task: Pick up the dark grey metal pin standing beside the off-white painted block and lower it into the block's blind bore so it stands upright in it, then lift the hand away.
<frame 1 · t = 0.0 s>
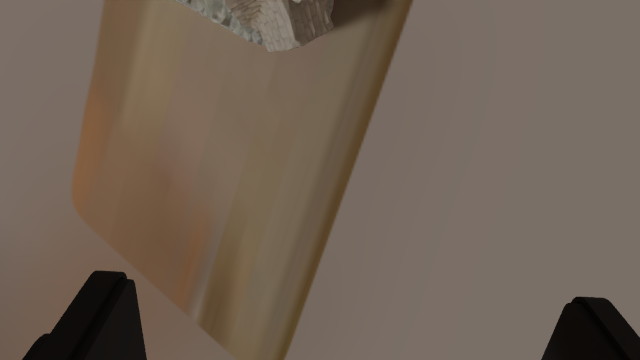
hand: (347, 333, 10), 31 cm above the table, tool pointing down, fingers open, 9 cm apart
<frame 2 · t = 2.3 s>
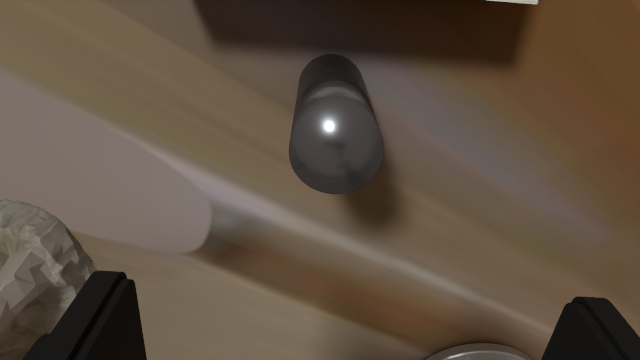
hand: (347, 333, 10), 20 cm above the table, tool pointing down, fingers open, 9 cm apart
metal pin: (331, 87, 28), on the table
grey rough lump: (17, 291, 36), on the table
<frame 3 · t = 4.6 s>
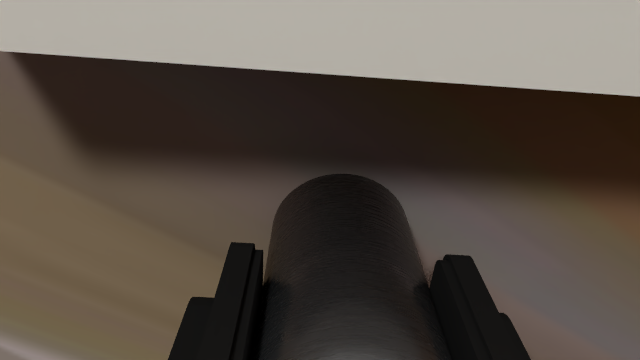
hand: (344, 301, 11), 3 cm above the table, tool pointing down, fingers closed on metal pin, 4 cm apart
metal pin: (339, 233, 13), on the table, touching gripper
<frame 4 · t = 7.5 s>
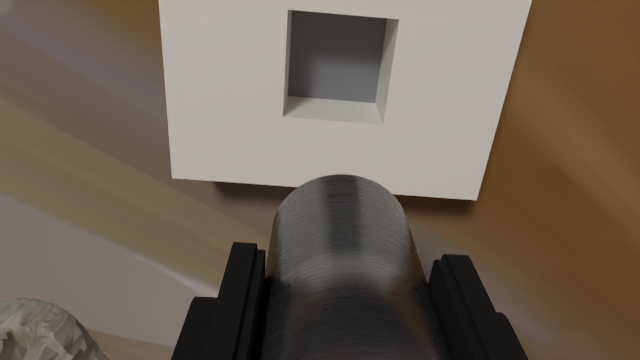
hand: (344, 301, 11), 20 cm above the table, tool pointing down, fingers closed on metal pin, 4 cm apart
bore block: (335, 51, 28), on the table
metal pin: (339, 234, 13), point 17 cm above the table, touching gripper
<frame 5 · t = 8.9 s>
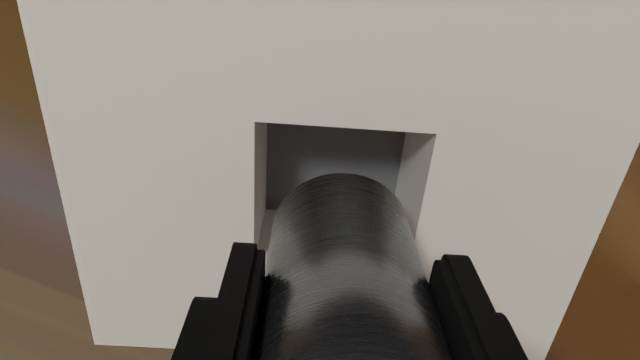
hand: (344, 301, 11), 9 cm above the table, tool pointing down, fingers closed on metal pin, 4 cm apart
bore block: (333, 146, 19), on the table
metal pin: (340, 233, 13), point 7 cm above the table, touching gripper
when the fingers open (6 cm above the table, at t = 10.0 s): metal pin drops 2 cm, resting on bore block.
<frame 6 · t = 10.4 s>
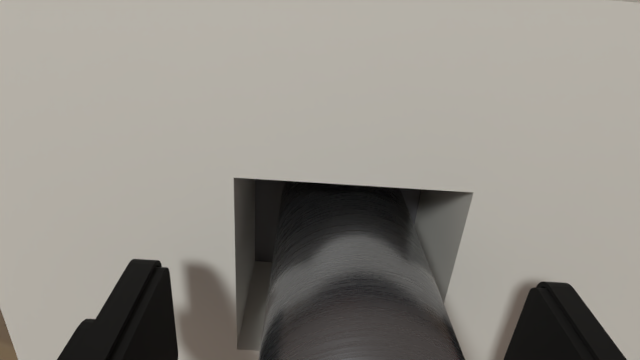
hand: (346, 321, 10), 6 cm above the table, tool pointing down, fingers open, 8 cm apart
bore block: (336, 186, 16), on the table
metal pin: (341, 203, 15), point 1 cm above the table, touching bore block
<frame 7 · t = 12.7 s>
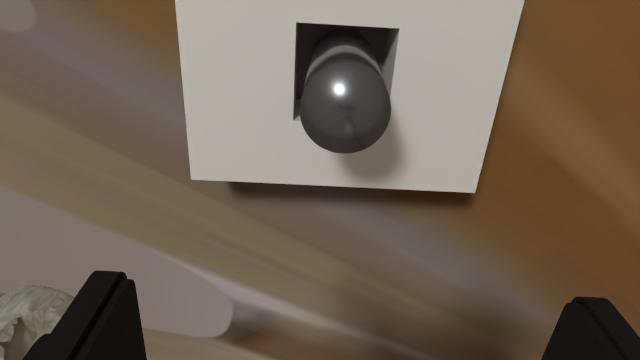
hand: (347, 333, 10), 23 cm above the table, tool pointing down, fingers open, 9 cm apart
bore block: (339, 56, 29), on the table
metal pin: (342, 61, 28), point 1 cm above the table, touching bore block
grey rough lump: (45, 353, 43), on the table
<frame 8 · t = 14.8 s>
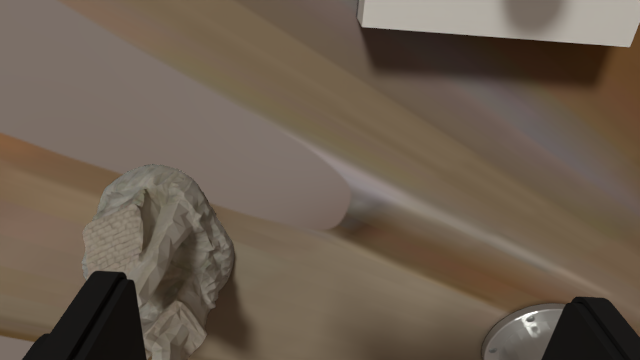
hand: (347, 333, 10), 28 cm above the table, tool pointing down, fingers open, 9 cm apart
grey rough lump: (152, 243, 44), on the table
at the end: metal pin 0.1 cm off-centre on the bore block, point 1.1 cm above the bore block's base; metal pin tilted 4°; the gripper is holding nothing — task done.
